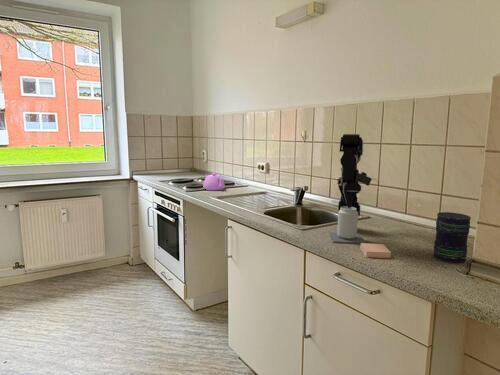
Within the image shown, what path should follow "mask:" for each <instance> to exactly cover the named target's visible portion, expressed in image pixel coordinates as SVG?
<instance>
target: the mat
mask: <svg viewBox="0 0 500 375" xmlns="http://www.w3.org/2000/svg"><path fill="white" fill-rule="evenodd" d="M329 235H330V238H331V241H332V242H333V244H334V243H335V244H352V245H353V244H357V245H361V243H366V241H365V240H364V237H362V235H361V234H360V233H357V236H356V237H355V238H354V239H342V238H340V237H339V236H338V235H337V232H329Z"/></svg>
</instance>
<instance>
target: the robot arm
mask: <svg viewBox="0 0 500 375" xmlns="http://www.w3.org/2000/svg"><path fill="white" fill-rule="evenodd" d="M339 152H340V153H341V152H343V154H342V156H341V158H340V164H341V167H340V171H341V175H340V176H341V177H339V178H337V179H336V180H337V187H338V190H339V193H340V200H338V205H337V206H338V211H339V210H340V209H341V207H348V208H351V207H354V208H356V209H357V210H356V211H357V212H358V217H359V216H360V215H361V205H360V202H358V196H357V194H359V193H360V192H362V185H361V184H364V185H366V186H368V187H370V184H371V181H372V180H373V178H372V177H370V176H368V174H367V173H366V172H365V171H362V172H360V171H359V169H358V163H360V162H361V158H362V156H363V152H364V140H363V138H362V137H361V136H360V134H358V133H356V134H355V133H352V134H351V133H346V134H344V133H343V134H342V136H340V142H339ZM359 172H360V173H359ZM360 183H361V184H360ZM338 211H337V212H338Z"/></svg>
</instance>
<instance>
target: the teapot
mask: <svg viewBox="0 0 500 375" xmlns="http://www.w3.org/2000/svg"><path fill="white" fill-rule="evenodd" d="M223 178H224V177H223V176H221V175H220V174H217V172H212V173H211V174H205V175H204V181H203V184H202V186H203V188H204V190H205V189H206V191H209V192H211V191H213V192H216V191H218V192H219V191H222V190H224V189H225V188H226V187H225V186H226V185H225V181H224V179H223Z"/></svg>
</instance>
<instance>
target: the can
mask: <svg viewBox="0 0 500 375" xmlns="http://www.w3.org/2000/svg"><path fill="white" fill-rule="evenodd" d="M356 210H357V209H356V208H354V207H351V208H348V207H341V209H340V210H339V211H337V232H336V233H337V235H338V236H339V237H340V238H342V239H354V238H355V237H356V236H357V234H358V223H359V221H358V219H359V216H358V212H357V211H356Z"/></svg>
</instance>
